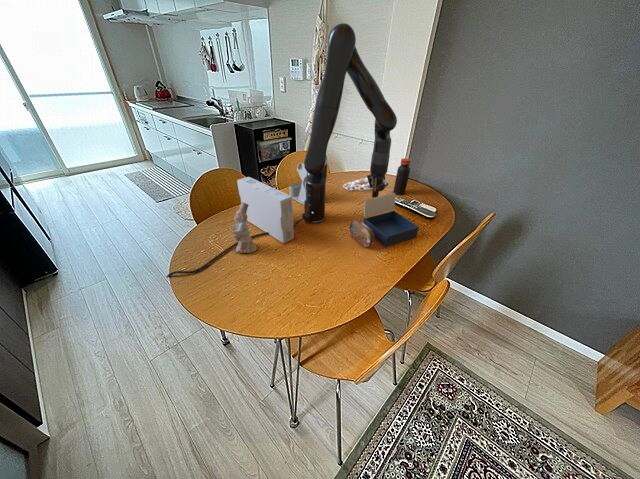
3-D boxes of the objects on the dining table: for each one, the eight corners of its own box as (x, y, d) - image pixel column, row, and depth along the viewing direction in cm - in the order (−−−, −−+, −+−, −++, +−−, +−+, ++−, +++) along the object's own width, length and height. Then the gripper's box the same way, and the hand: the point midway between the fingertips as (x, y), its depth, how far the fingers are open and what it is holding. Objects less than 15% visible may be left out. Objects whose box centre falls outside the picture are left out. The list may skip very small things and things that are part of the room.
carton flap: (364, 200, 114) (364, 199, 114) (364, 217, 117) (364, 217, 118) (395, 193, 121) (395, 192, 121) (394, 209, 124) (393, 209, 124)
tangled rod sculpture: (348, 195, 152) (349, 189, 150) (340, 184, 163) (340, 178, 160) (378, 191, 157) (379, 185, 154) (367, 180, 167) (368, 175, 165)
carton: (385, 247, 109) (387, 236, 106) (362, 228, 121) (364, 218, 118) (416, 236, 116) (419, 226, 113) (392, 220, 128) (394, 210, 125)
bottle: (395, 189, 158) (402, 157, 147) (406, 192, 155) (413, 159, 144) (391, 193, 154) (397, 159, 142) (402, 196, 151) (409, 162, 139)
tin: (348, 233, 117) (350, 217, 112) (354, 231, 118) (356, 215, 114) (368, 251, 106) (370, 234, 101) (374, 249, 107) (377, 232, 103)
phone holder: (287, 196, 148) (285, 165, 138) (301, 191, 154) (300, 161, 144) (306, 206, 138) (306, 174, 128) (320, 201, 144) (321, 169, 133)
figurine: (256, 241, 110) (250, 199, 99) (257, 253, 104) (250, 209, 92) (235, 244, 109) (226, 201, 97) (234, 256, 102) (224, 212, 91)
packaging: (294, 237, 113) (292, 196, 102) (283, 243, 110) (280, 201, 98) (253, 214, 130) (248, 176, 119) (243, 218, 127) (236, 179, 115)
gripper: (396, 164, 108) (390, 201, 118) (377, 156, 118) (372, 191, 128) (382, 167, 105) (376, 205, 115) (364, 158, 115) (360, 193, 125)
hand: (374, 197), depth 122 cm, fingers closed
